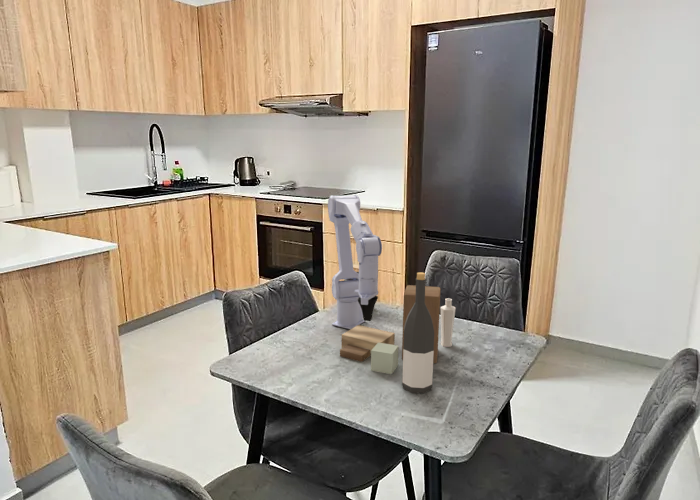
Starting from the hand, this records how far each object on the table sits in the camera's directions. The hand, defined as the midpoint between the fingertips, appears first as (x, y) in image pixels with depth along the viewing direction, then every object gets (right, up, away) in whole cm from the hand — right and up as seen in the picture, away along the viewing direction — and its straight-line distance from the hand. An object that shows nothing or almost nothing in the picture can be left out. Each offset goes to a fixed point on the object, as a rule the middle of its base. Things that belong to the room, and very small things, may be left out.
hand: (367, 320), depth 147 cm
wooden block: (+15, -10, -4) cm, 19 cm away
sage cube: (+4, -12, -12) cm, 17 cm away
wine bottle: (+12, -14, -23) cm, 29 cm away
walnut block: (-2, -9, -3) cm, 9 cm away
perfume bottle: (+25, -9, +3) cm, 26 cm away
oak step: (0, -9, +2) cm, 9 cm away
